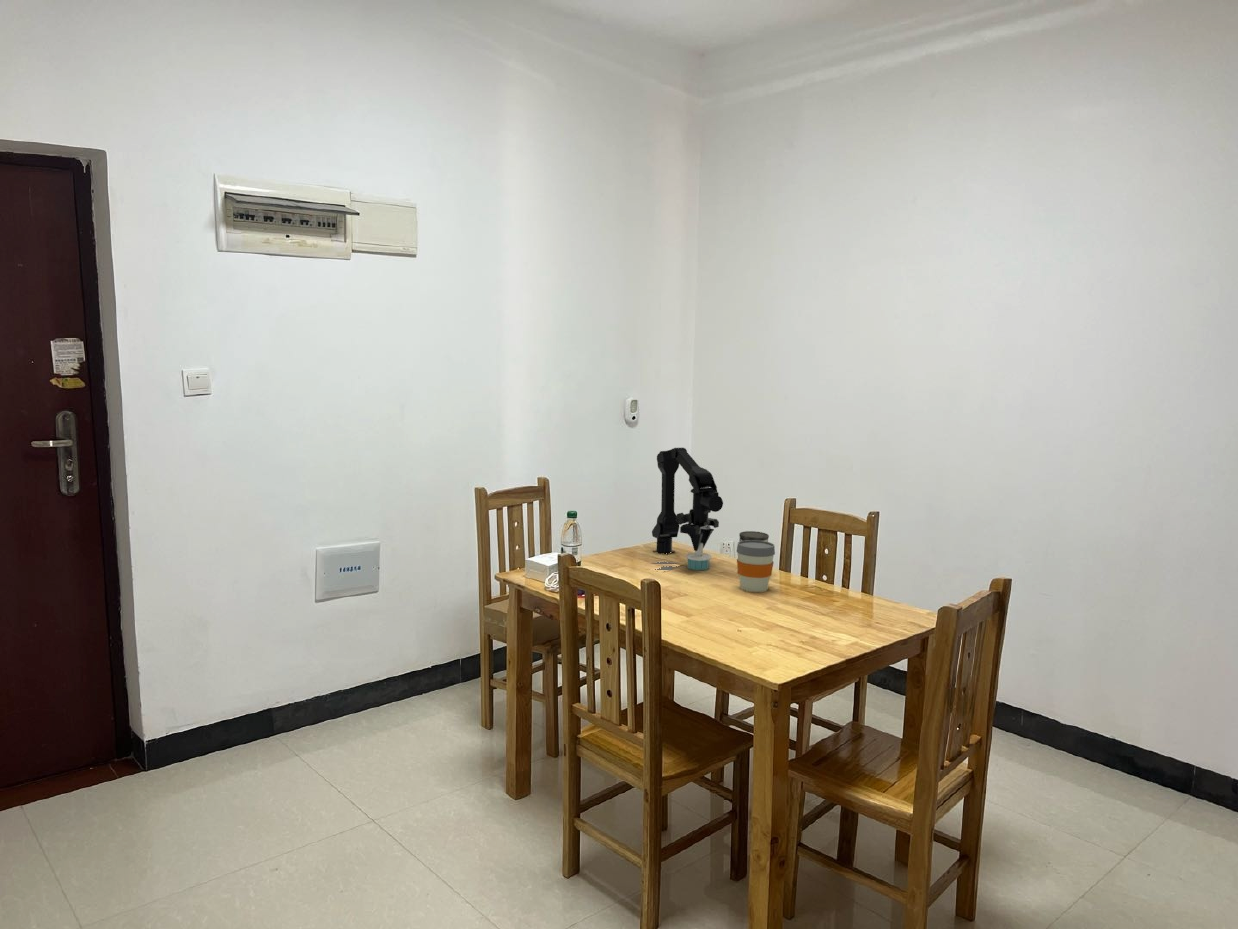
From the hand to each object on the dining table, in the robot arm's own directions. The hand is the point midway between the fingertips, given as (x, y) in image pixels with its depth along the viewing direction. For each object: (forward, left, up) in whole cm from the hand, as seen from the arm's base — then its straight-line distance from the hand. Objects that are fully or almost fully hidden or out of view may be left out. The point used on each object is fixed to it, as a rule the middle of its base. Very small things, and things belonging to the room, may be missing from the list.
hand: (698, 549), depth 309 cm
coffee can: (-7, +18, -7) cm, 21 cm away
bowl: (0, 0, -7) cm, 7 cm away
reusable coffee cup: (+11, +27, -7) cm, 30 cm away
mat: (+7, -11, -7) cm, 15 cm away
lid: (0, 0, -3) cm, 3 cm away
